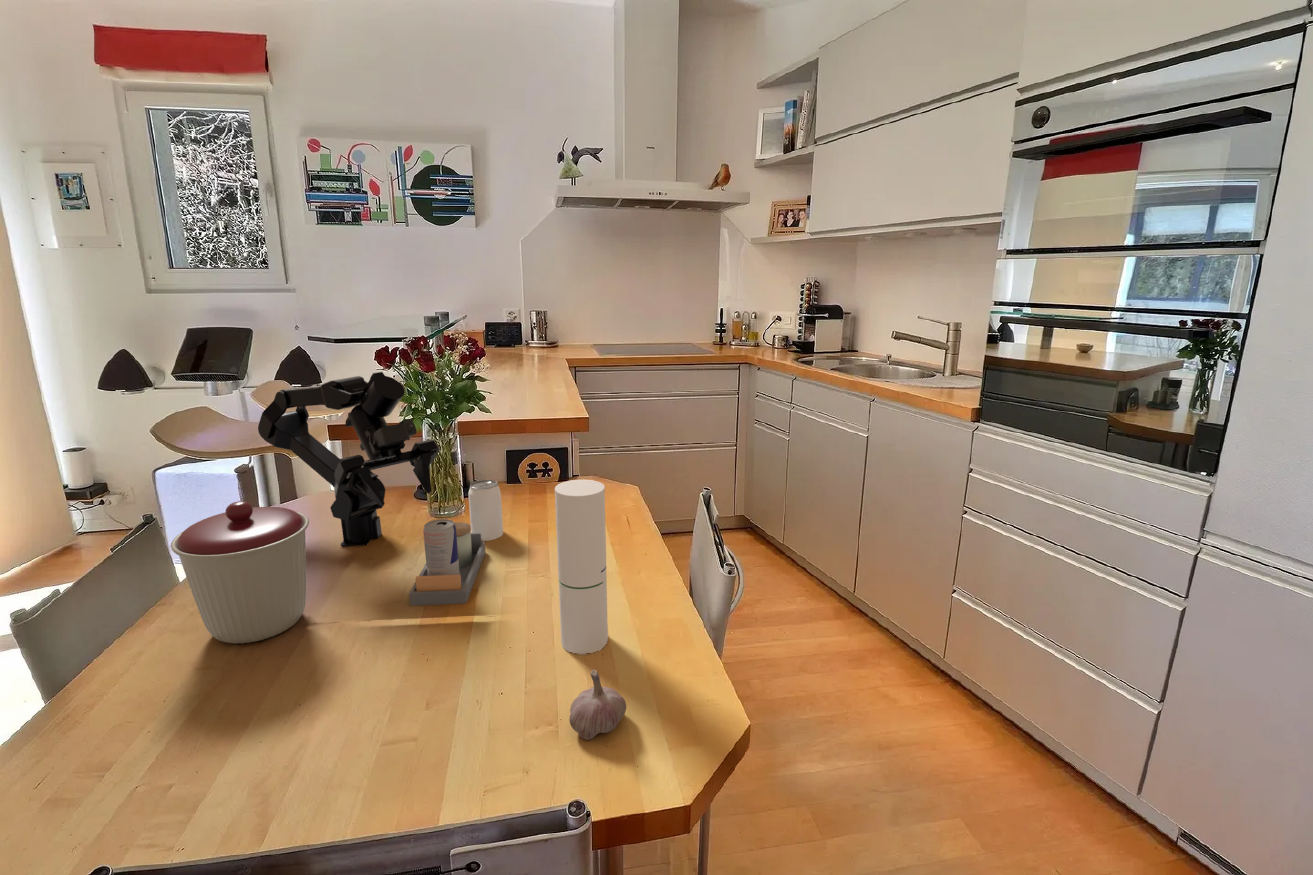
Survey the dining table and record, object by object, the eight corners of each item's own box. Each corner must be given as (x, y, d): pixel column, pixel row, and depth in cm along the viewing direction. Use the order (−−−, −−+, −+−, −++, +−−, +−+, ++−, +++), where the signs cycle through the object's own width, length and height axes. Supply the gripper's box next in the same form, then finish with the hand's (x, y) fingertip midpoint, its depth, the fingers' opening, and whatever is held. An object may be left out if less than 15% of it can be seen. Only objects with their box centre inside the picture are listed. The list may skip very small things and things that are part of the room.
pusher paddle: (417, 601, 111) (415, 578, 110) (419, 598, 112) (416, 576, 111) (461, 599, 112) (459, 576, 111) (462, 596, 113) (460, 574, 111)
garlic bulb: (577, 752, 79) (575, 694, 76) (561, 714, 85) (558, 660, 83) (636, 734, 82) (636, 678, 79) (616, 699, 88) (615, 647, 86)
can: (507, 532, 142) (504, 479, 139) (497, 544, 136) (493, 489, 132) (478, 531, 142) (474, 478, 139) (467, 543, 136) (462, 488, 133)
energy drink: (465, 581, 118) (460, 519, 115) (453, 596, 113) (448, 531, 110) (436, 580, 119) (430, 518, 116) (423, 594, 114) (417, 529, 111)
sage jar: (438, 569, 123) (435, 534, 121) (445, 556, 128) (442, 522, 127) (470, 568, 123) (467, 533, 122) (475, 554, 129) (473, 521, 127)
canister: (162, 644, 100) (134, 515, 95) (267, 590, 117) (248, 477, 111) (249, 669, 94) (224, 532, 89) (347, 608, 111) (331, 490, 105)
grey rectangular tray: (410, 609, 110) (407, 582, 109) (438, 557, 130) (435, 534, 128) (466, 607, 111) (464, 580, 110) (485, 555, 130) (484, 532, 129)
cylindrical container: (615, 633, 103) (612, 482, 97) (596, 658, 97) (592, 498, 90) (573, 625, 106) (568, 477, 99) (552, 649, 99) (545, 492, 93)
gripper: (332, 415, 115) (368, 489, 111) (430, 399, 129) (465, 464, 124) (320, 450, 122) (353, 520, 118) (414, 431, 136) (447, 494, 131)
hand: (407, 498), depth 123 cm, fingers open, 9 cm apart
